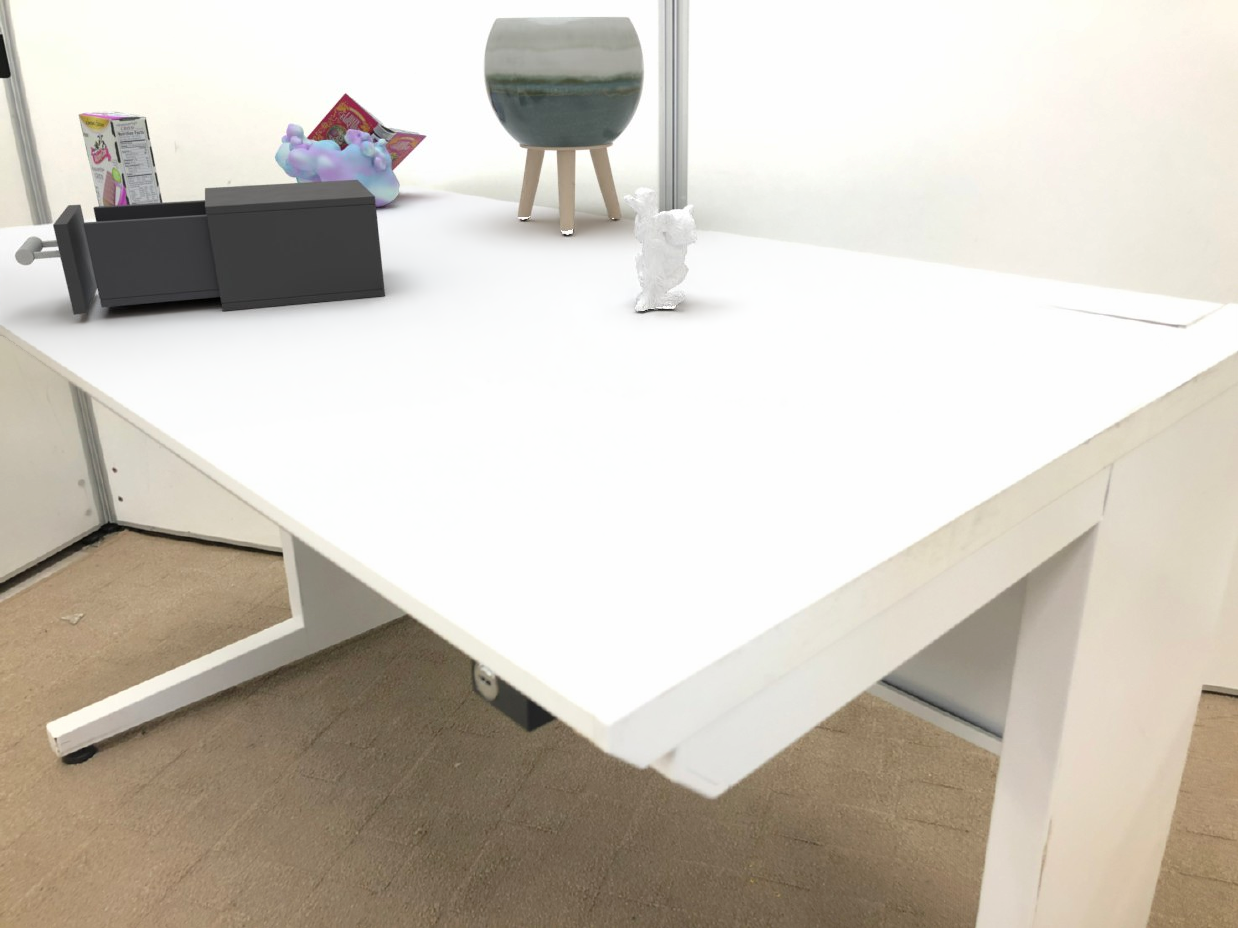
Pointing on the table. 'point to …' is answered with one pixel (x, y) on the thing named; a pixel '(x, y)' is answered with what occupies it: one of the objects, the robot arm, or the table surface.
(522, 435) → the table surface
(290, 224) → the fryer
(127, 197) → the candy bar box
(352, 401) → the table surface
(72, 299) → the drawer
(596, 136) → the planter
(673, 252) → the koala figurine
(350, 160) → the pastel bubbly blob
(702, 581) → the table surface
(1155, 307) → the table surface
